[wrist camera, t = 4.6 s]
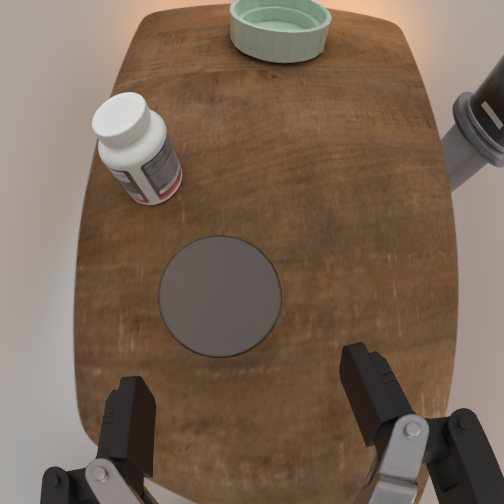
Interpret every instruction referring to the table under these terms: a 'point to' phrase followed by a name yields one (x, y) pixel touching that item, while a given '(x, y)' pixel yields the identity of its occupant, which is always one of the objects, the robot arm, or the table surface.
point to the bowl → (279, 29)
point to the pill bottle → (137, 148)
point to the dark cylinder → (219, 296)
